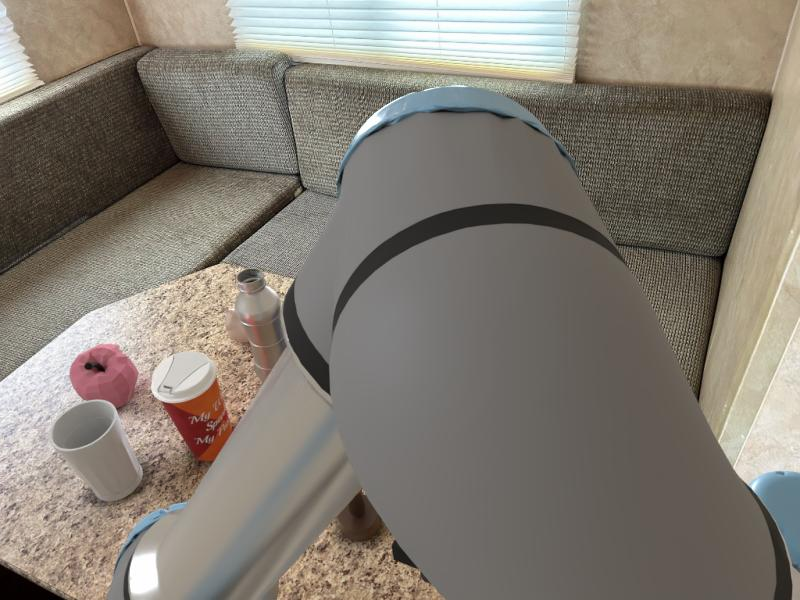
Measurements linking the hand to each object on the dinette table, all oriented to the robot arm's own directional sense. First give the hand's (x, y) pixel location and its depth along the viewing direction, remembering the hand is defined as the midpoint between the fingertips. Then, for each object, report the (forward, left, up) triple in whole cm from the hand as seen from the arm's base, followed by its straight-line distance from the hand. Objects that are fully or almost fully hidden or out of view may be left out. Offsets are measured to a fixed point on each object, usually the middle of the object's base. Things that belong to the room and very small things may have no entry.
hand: (419, 492), depth 65 cm
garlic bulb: (-27, +40, -11) cm, 49 cm away
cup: (-41, +13, -11) cm, 44 cm away
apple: (-46, +28, -11) cm, 55 cm away
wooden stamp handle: (-8, +4, -11) cm, 14 cm away
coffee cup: (-29, +18, -11) cm, 36 cm away
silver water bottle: (-21, +30, -11) cm, 38 cm away
